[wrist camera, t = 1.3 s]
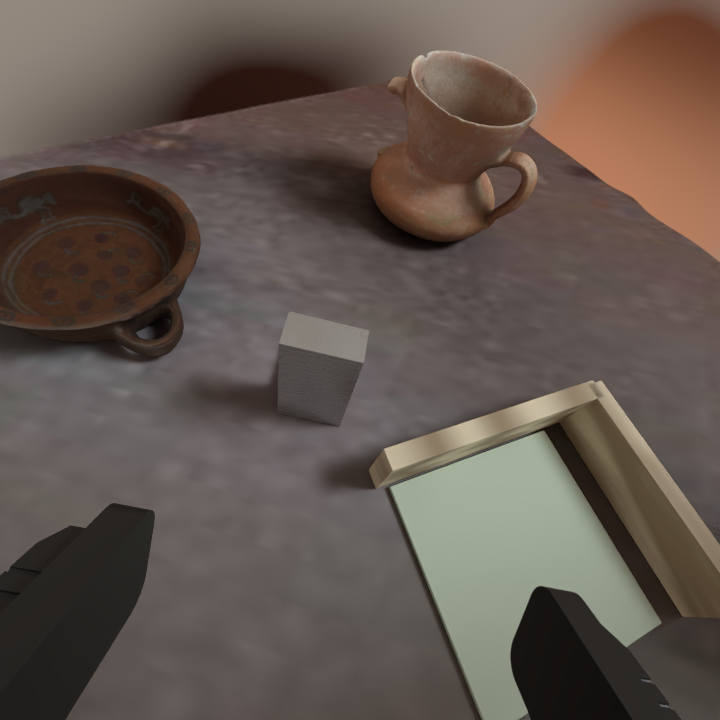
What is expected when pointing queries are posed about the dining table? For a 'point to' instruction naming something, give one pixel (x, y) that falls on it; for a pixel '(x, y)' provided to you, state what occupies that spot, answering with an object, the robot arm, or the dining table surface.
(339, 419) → the rectangular block
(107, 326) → the dish
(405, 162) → the ceramic jug
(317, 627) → the dining table surface
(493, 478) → the mat
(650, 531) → the corner
